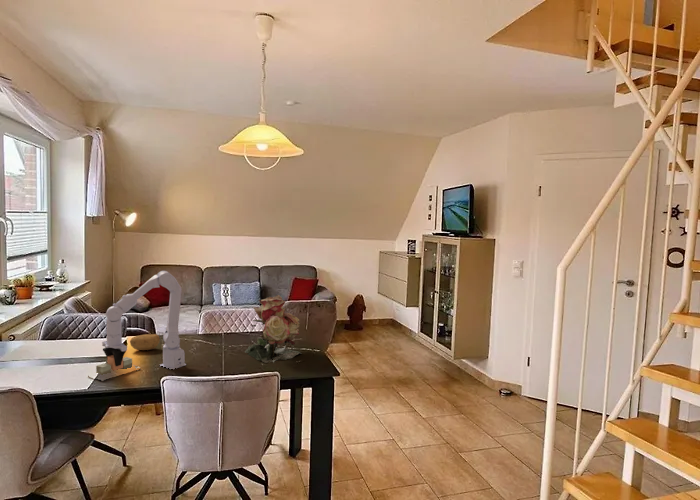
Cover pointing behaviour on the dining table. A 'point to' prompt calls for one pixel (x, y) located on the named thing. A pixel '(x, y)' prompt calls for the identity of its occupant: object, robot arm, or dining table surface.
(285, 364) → the dining table surface
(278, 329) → the rose bouquet
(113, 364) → the terracotta block
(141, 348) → the potato
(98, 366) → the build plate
